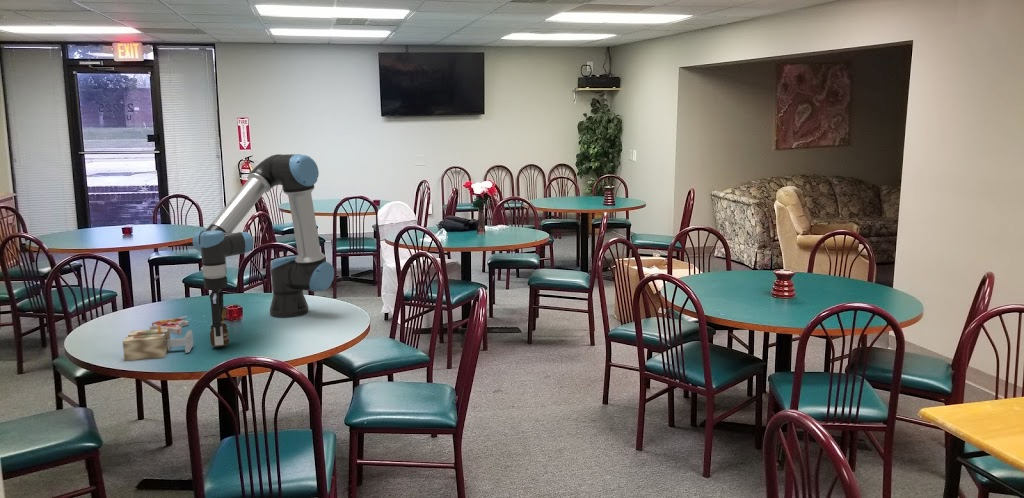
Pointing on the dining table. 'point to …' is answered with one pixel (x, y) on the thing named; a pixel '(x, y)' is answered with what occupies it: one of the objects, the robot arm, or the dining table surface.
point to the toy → (171, 325)
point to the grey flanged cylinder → (180, 340)
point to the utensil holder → (225, 332)
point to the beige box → (146, 344)
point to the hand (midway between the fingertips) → (220, 342)
